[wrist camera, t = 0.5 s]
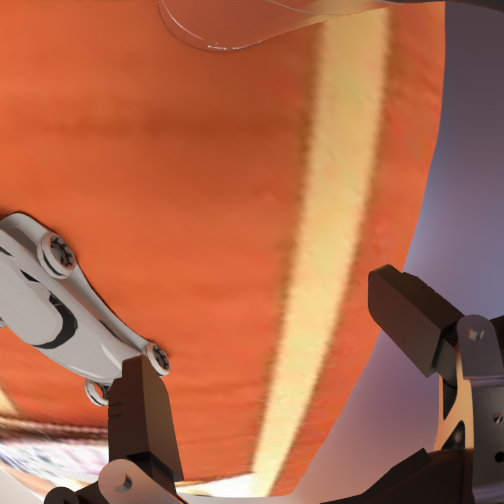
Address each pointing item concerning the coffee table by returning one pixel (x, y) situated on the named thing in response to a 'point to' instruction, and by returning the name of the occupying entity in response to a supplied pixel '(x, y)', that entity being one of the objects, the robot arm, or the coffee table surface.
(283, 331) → the coffee table surface
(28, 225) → the car model
